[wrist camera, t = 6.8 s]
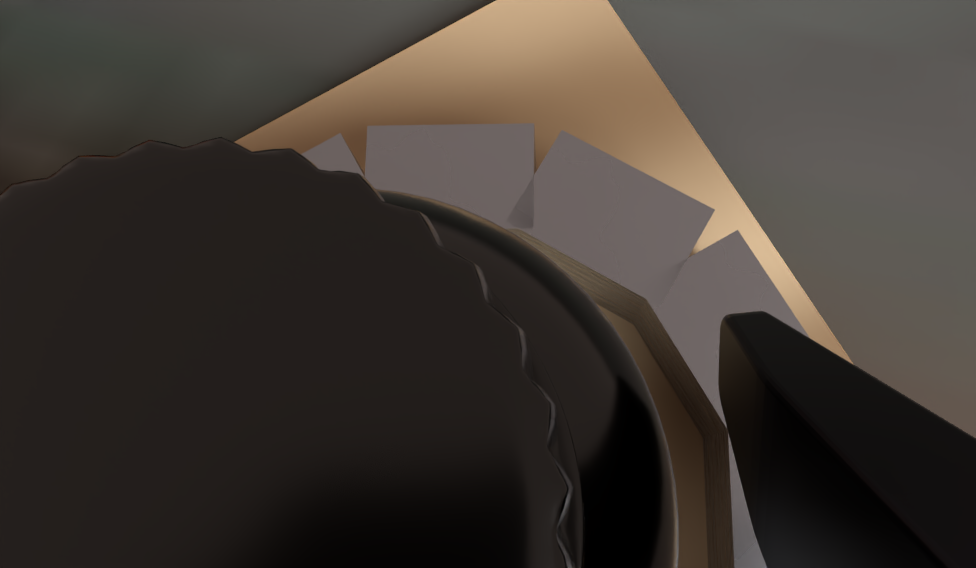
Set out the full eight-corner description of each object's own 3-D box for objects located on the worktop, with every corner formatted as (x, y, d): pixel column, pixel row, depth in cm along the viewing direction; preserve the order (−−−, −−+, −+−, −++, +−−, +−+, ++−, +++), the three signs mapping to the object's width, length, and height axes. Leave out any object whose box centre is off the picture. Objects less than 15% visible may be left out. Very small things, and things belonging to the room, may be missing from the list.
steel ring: (966, 654, 15) (1043, 686, 13) (296, 1057, 14) (247, 1167, 12) (580, 61, 18) (584, -1, 16) (17, 370, 18) (-65, 352, 15)
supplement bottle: (560, 760, 15) (493, 1696, 3) (221, 614, 16) (-685, 936, 5) (676, 393, 16) (915, 156, 5) (353, 283, 17) (-96, -119, 6)
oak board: (1080, 728, 15) (1108, 741, 15) (404, 1141, 15) (396, 1177, 14) (576, -24, 20) (577, -44, 19) (33, 271, 19) (11, 262, 18)
